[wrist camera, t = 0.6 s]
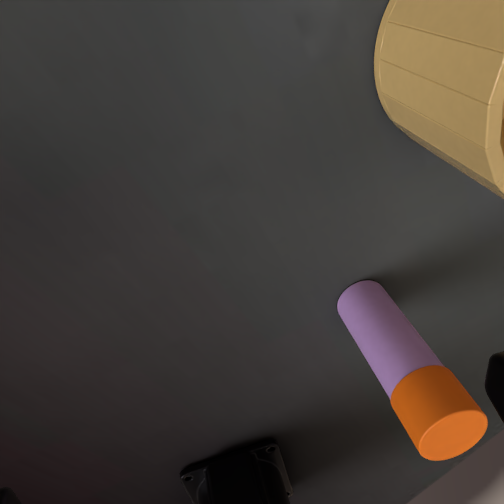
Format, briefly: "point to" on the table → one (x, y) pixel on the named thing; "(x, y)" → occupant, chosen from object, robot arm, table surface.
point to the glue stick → (411, 374)
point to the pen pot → (447, 80)
